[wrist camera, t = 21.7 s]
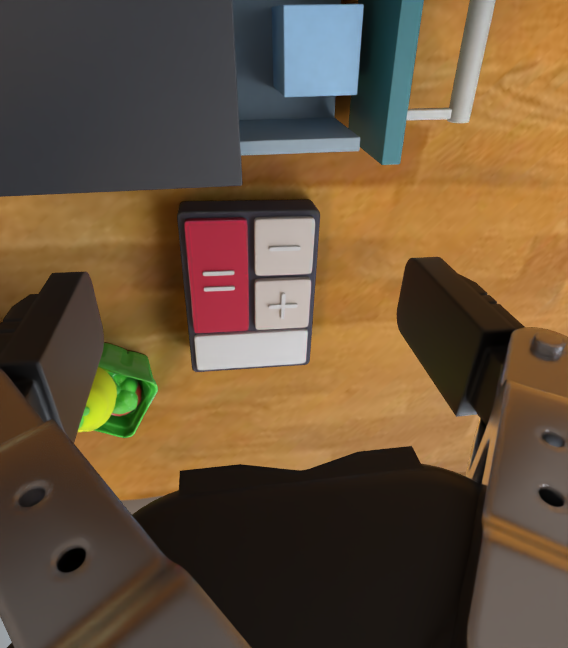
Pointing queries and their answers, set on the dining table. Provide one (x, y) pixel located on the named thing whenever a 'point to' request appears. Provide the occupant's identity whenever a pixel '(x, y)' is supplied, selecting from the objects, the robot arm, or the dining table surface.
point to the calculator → (249, 281)
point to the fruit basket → (119, 393)
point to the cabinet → (117, 96)
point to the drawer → (373, 82)
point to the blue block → (316, 49)
